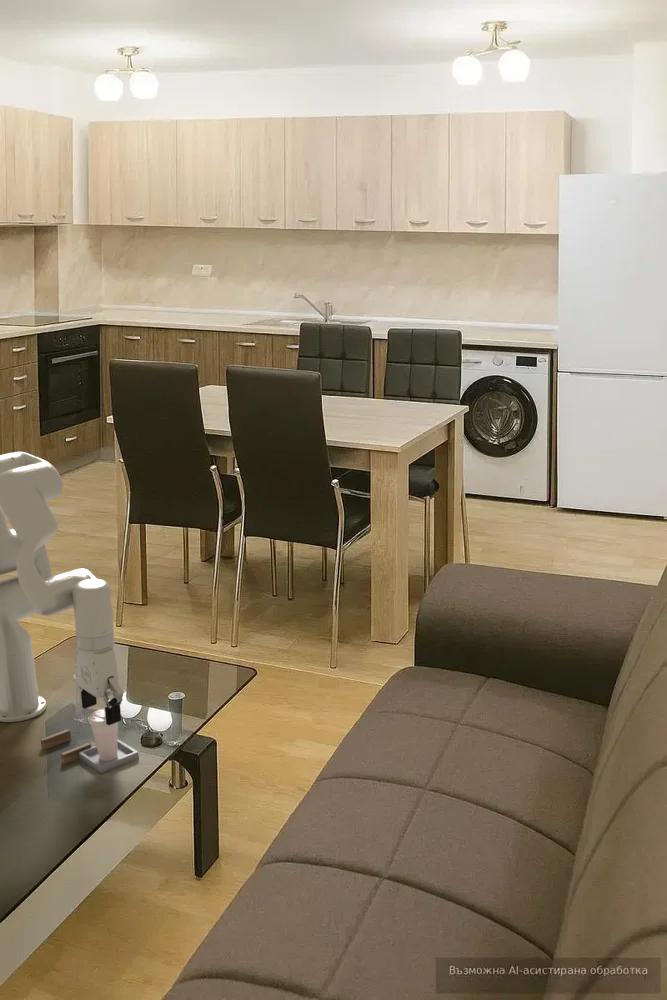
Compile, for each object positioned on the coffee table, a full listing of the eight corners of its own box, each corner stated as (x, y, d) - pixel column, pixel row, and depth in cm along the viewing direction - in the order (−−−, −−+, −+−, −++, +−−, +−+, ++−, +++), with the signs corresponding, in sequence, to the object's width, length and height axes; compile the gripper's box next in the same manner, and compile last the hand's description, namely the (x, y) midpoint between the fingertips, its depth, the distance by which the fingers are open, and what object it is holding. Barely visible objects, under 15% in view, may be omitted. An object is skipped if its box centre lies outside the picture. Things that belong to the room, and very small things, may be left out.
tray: (79, 759, 233) (78, 752, 232) (116, 744, 238) (115, 737, 238) (101, 774, 226) (100, 767, 226) (138, 758, 232) (138, 751, 231)
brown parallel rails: (41, 748, 238) (40, 739, 237) (68, 738, 242) (67, 728, 241) (64, 764, 231) (63, 755, 230) (91, 753, 235) (90, 744, 234)
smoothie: (116, 765, 228) (109, 703, 225) (88, 763, 230) (80, 702, 226) (128, 750, 234) (121, 689, 231) (100, 748, 236) (93, 688, 232)
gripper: (58, 631, 229) (64, 705, 234) (101, 658, 217) (107, 735, 222) (90, 621, 234) (96, 694, 239) (134, 646, 221) (139, 723, 226)
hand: (101, 714), depth 230 cm, fingers open, 9 cm apart
